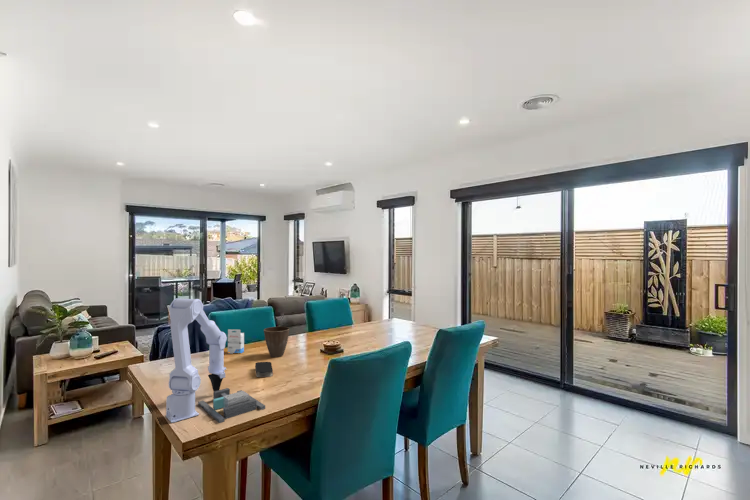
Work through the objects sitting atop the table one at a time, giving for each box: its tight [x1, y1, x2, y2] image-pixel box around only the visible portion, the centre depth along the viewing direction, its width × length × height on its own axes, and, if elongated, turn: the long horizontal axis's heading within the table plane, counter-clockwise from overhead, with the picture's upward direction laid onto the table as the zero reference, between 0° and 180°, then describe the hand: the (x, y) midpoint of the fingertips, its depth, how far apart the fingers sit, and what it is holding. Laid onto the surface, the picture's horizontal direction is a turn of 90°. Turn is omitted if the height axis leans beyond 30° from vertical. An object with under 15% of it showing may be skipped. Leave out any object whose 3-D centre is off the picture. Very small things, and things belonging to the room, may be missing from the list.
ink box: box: [227, 328, 245, 354], centre depth 223 cm, size 8×5×15 cm, turn 85°
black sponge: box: [254, 361, 274, 378], centre depth 186 cm, size 16×8×4 cm, turn 20°
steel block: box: [222, 390, 250, 411], centre depth 141 cm, size 8×5×6 cm, turn 134°
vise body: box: [197, 389, 266, 424], centre depth 145 cm, size 18×22×4 cm
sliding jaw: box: [212, 387, 231, 411], centre depth 149 cm, size 12×10×4 cm
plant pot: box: [263, 326, 290, 358], centre depth 217 cm, size 15×15×16 cm
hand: (216, 390), depth 156 cm, fingers closed
